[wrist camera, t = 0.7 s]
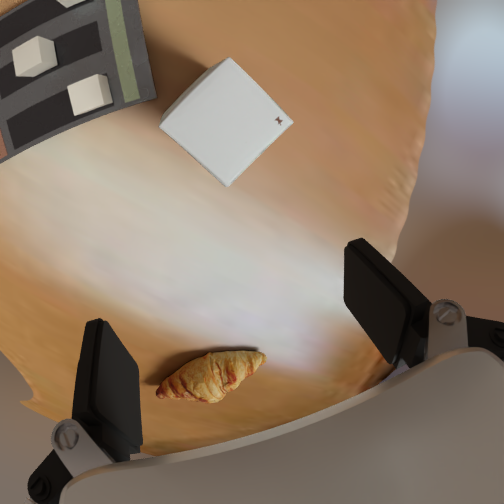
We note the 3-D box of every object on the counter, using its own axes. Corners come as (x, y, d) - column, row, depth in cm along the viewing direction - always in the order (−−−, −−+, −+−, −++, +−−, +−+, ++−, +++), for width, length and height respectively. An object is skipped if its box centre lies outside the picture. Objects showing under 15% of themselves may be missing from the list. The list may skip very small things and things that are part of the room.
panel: (-29, 42, 15) (-36, 42, 14) (132, -37, 18) (131, -42, 17) (-4, 166, 25) (-10, 169, 24) (157, 97, 28) (156, 97, 27)
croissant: (253, 326, 53) (260, 341, 45) (272, 371, 54) (281, 390, 46) (148, 365, 51) (139, 384, 43) (172, 407, 52) (167, 429, 44)
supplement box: (208, 66, 28) (231, 52, 17) (253, 111, 32) (298, 123, 21) (160, 114, 29) (155, 126, 19) (207, 156, 33) (228, 190, 23)
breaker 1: (30, 53, 19) (12, 50, 15) (53, 41, 19) (37, 35, 16) (34, 76, 21) (16, 76, 17) (57, 65, 21) (41, 62, 17)
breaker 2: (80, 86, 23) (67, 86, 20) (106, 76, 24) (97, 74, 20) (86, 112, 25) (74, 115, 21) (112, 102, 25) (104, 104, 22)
